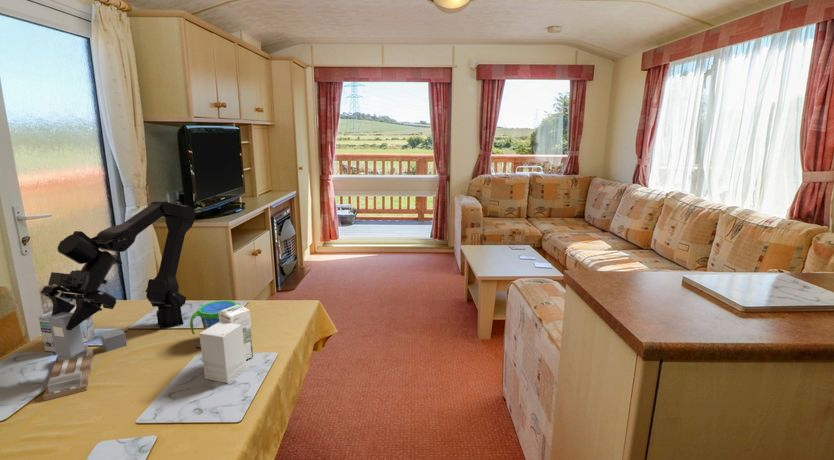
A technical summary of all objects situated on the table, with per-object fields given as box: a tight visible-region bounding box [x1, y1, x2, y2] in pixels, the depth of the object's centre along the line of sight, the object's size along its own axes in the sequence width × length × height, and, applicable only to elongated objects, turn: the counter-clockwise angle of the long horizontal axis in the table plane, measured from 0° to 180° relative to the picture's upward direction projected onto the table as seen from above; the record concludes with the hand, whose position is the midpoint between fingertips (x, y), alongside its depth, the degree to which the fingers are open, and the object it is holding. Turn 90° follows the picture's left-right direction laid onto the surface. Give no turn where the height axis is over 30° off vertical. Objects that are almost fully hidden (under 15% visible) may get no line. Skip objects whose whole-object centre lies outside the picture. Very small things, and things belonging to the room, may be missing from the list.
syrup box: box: [218, 304, 254, 361], centre depth 120 cm, size 6×6×14 cm
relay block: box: [100, 328, 128, 353], centre depth 128 cm, size 5×4×4 cm
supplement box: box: [198, 322, 248, 384], centre depth 113 cm, size 7×7×13 cm
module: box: [48, 312, 85, 357], centre depth 111 cm, size 4×5×10 cm
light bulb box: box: [38, 301, 96, 353], centre depth 129 cm, size 11×7×11 cm, turn 168°
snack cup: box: [189, 300, 244, 335], centre depth 132 cm, size 16×10×10 cm
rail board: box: [43, 343, 95, 401], centre depth 114 cm, size 22×8×3 cm, turn 32°
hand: (59, 328), depth 110 cm, fingers closed on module, 5 cm apart
